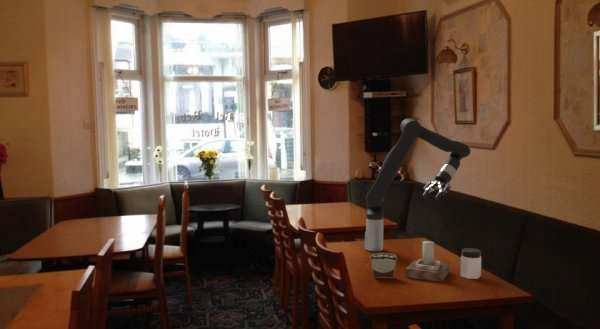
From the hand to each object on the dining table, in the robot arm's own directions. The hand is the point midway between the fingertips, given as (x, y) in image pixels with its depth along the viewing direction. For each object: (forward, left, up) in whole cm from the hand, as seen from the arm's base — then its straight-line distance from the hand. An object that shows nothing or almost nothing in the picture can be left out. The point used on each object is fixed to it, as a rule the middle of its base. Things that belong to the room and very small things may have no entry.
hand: (430, 198), depth 263 cm
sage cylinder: (+6, -34, -26) cm, 43 cm away
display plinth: (+6, -34, -30) cm, 46 cm away
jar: (+24, -28, -31) cm, 48 cm away
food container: (-12, -44, -31) cm, 55 cm away
